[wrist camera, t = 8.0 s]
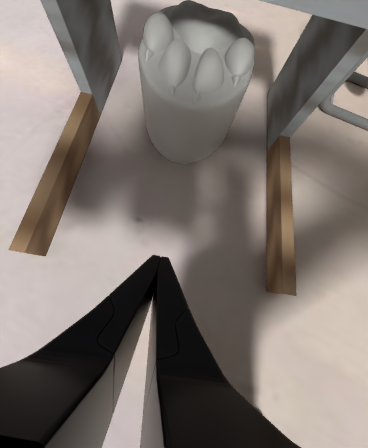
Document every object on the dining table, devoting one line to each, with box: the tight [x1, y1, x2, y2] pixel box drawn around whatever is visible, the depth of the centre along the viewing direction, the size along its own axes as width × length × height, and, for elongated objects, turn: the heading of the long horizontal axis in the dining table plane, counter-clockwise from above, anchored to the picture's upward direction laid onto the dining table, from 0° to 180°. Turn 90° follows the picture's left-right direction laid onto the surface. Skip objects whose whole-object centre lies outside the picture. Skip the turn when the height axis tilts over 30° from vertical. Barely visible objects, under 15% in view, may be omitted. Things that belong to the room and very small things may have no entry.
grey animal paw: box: [138, 0, 255, 164], centre depth 18 cm, size 10×13×9 cm
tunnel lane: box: [9, 0, 368, 296], centre depth 15 cm, size 27×23×13 cm
